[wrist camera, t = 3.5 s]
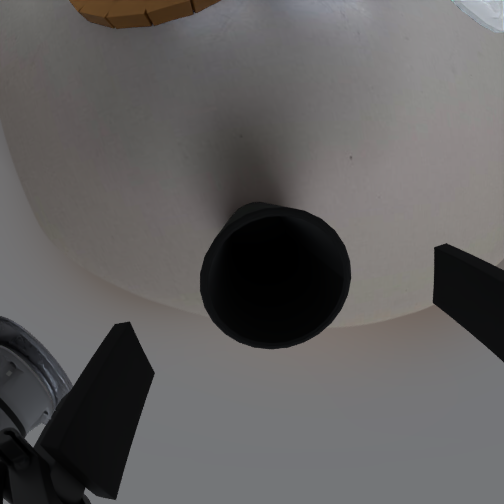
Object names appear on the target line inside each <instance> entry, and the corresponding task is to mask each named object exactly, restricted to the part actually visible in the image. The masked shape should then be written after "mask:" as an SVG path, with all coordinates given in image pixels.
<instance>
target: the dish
mask: <svg viewBox="0 0 504 504" xmlns="http://www.w3.org/2000/svg"><path fill="white" fill-rule="evenodd" d="M451 1H452V2H453V3H454V4H455V5H456V6H458V7H459V8H460V9H461V10H462V11H463V12H464V13H466V14H467V15H468V16H470V17H471V18H472V19H474V20H475V21H476V22H477V23H479V24H480V25H481V26H483V27H485V28H487V29H489V30H491V31H493V32H495V33H501V32H504V0H451Z"/></svg>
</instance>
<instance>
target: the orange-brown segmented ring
mask: <svg viewBox="0 0 504 504" xmlns="http://www.w3.org/2000/svg"><path fill="white" fill-rule="evenodd" d="M69 1H70V2H71V3H72V5H73V6H74V7H75V8H76V10H77V11H78V12H79V13H80V14H81V15H82V16H83V17H84V18H86V19H87V20H88V21H90V22H92V23H96V24H100V25H103V26H107V27H110V28H116V29H120V28H131V27H147V26H152V23H153V25H154V26H155V25H158V24H162V23H165V22H168V21H171V20H175V19H178V18H182V17H186V16H190V15H193V11H194V12H195V13H198V12H200V11H201V10H203V9H205V8H207V7H209V6H211V5H213V4H215V3H217V2H219V1H221V0H69Z"/></svg>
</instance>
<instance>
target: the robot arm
mask: <svg viewBox="0 0 504 504" xmlns="http://www.w3.org/2000/svg"><path fill="white" fill-rule="evenodd" d="M433 303H434V304H435V305H436V306H438V307H439V308H440V309H441V310H443V311H444V312H445V313H447V314H448V315H449V316H450V317H452V318H453V319H454V320H455V321H457V322H458V323H459V324H460V325H461V326H463V327H464V328H465V329H466V330H467V331H469V332H470V333H471V334H472V335H473V336H474V337H476V338H477V339H478V340H479V341H480V342H482V343H483V344H484V345H485V346H486V347H487V348H488V349H490V350H491V351H492V352H493V353H494V354H495V355H497V357H499V358H500V359H501V360H502V361H503V362H504V270H502V269H500V268H498V267H496V266H494V265H492V264H490V263H488V262H486V261H484V260H482V259H479V258H477V257H475V256H473V255H471V254H469V253H467V252H464V251H462V250H460V249H458V248H456V247H453V246H451V245H449V244H447V243H446V244H443V245H440V246H437V247H434V291H433ZM154 374H155V373H154V371H153V369H152V367H151V365H150V363H149V361H148V359H147V357H146V355H145V353H144V351H143V349H142V347H141V345H140V343H139V340H138V338H137V336H136V334H135V332H134V330H133V328H132V325H131V323H130V322H125V323H119V324H115V325H114V326H113V327H112V329H111V330H110V332H109V333H108V335H107V336H106V338H105V339H104V340H103V342H102V343H101V345H100V346H99V348H98V349H97V351H96V352H95V354H94V355H93V357H92V358H91V360H90V361H89V363H88V364H87V366H86V368H85V369H84V371H83V372H82V374H81V375H80V377H79V378H78V380H77V382H76V383H75V385H74V386H73V388H72V390H71V391H70V392H69V393H68V394H66V395H65V396H64V397H63V398H62V399H61V401H60V402H59V404H58V406H57V407H56V400H55V396H54V393H53V391H52V389H51V387H50V385H49V384H48V382H47V380H46V379H45V378H44V376H43V375H42V373H41V372H40V371H39V370H38V369H37V367H36V366H35V365H34V364H33V363H32V362H31V361H30V360H29V359H28V358H27V357H26V356H25V355H24V354H22V353H21V352H20V351H19V350H17V349H16V348H14V347H13V346H11V345H9V344H7V343H5V342H0V504H3V498H4V499H5V500H6V501H8V502H9V503H10V504H91V503H90V501H89V499H88V498H87V496H86V495H84V494H83V493H84V490H85V487H86V488H87V489H88V490H90V491H91V492H92V493H93V494H95V495H96V496H99V497H103V498H108V499H114V500H116V498H117V494H118V490H119V486H120V483H121V479H122V476H123V472H124V468H125V465H126V461H127V457H128V455H129V451H130V448H131V444H132V441H133V438H134V435H135V431H136V428H137V425H138V422H139V419H140V416H141V413H142V410H143V407H144V403H145V400H146V397H147V394H148V392H149V388H150V385H151V383H152V380H153V377H154ZM55 407H56V411H54V410H55ZM53 411H54V412H53ZM52 413H53V414H52ZM51 415H52V416H51ZM50 416H51V419H49V421H48V423H47V424H46V426H45V428H44V429H43V431H42V433H41V435H40V437H39V439H38V440H37V442H36V444H35V446H34V447H32V446H31V445H30V444H29V443H28V442H27V441H26V440H25V439H24V438H25V436H26V435H27V433H28V432H29V431H31V430H32V429H34V428H35V427H37V426H38V425H39V424H41V423H42V422H44V421H45V420H47V419H48V418H49V417H50Z"/></svg>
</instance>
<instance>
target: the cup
mask: <svg viewBox="0 0 504 504" xmlns="http://www.w3.org/2000/svg"><path fill="white" fill-rule="evenodd" d="M350 281H351V268H350V260H349V257H348V253H347V250H346V247H345V245H344V243H343V242H342V240H341V239H340V237H339V236H338V234H337V233H336V231H335V230H334V229H333V228H331V227H330V226H329V225H328V224H327V223H326V222H325V221H323V220H322V219H321V218H319V217H317V216H315V215H312V214H310V213H308V212H306V211H303V210H298V209H293V208H288V207H283V206H278V205H272V204H267V203H261V202H257V203H250V204H247V205H245V206H243V207H241V208H240V209H238V210H237V211H236V212H235V213H234V214H233V216H232V217H231V218H230V220H229V221H228V222H227V223H226V225H225V226H224V227H223V229H222V230H221V231H220V233H219V234H218V235H217V237H216V238H215V239H214V241H213V243H212V244H211V246H210V248H209V250H208V251H207V253H206V255H205V257H204V261H203V265H202V269H201V272H200V292H201V296H202V300H203V303H204V307H205V309H206V311H207V312H208V314H209V316H210V318H211V319H212V321H213V322H214V323H215V324H216V325H217V326H218V327H219V328H220V329H221V330H222V331H223V332H224V333H225V334H226V335H228V336H229V337H231V338H233V339H234V340H236V341H238V342H239V343H242V344H246V345H248V346H251V347H254V348H263V349H279V348H288V347H291V346H294V345H297V344H300V343H303V342H305V341H307V340H309V339H311V338H313V337H314V336H316V335H318V334H319V333H320V332H322V331H323V330H324V329H325V328H326V327H327V326H329V325H330V324H331V323H332V321H333V320H334V319H335V317H336V316H337V315H338V313H339V312H340V311H341V309H342V307H343V305H344V302H345V300H346V298H347V296H348V292H349V287H350Z"/></svg>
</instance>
